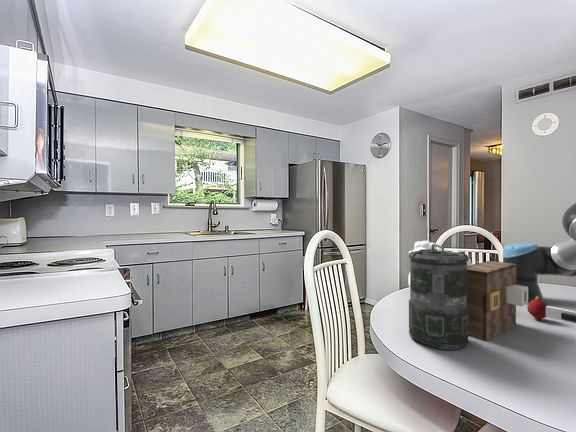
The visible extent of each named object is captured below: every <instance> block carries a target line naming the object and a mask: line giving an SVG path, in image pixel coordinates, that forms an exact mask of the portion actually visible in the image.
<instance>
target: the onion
mask: <svg viewBox="0 0 576 432" xmlns="http://www.w3.org/2000/svg"><path fill="white" fill-rule="evenodd" d="M535 298H536V299H534V300H532V301H530V302H529V303H528V304H527V307H526V308H527V309H526V310H527V312H528V314H530V316H532V317H533V318H534V319H535V320H537V321H541V320H543V319H545V318H547V317H546V306H549V305H548V304H547V303H546V301H544V300H541V299H540V298H539V297H535Z"/></svg>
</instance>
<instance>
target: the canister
mask: <svg viewBox="0 0 576 432" xmlns="http://www.w3.org/2000/svg"><path fill="white" fill-rule="evenodd" d="M434 246H436V247H437V249H434ZM438 248H440V249H441V250H438ZM410 251H411V252H410V253H409V252H408V258H409V259H410V261H409V266H410V267H409V273H410V288H409V291H410V294H409V296H410V297H409V299H408V333H409V336H410V337H411V339H412V340H414V341H417V342H420V343H421V344H424V345H426V346H430V347H433V348H436V349H437V350H443V351H444V350H445V351H453V350H460V348H461V347H465V346H466V345H468V344H469V336H468V335H469V309H468V308H467V263H466V262H467V261H468V259H470V257H469V255H468V254H466V253H465V252H461V251H458V252H459V253H457V252H452V251H448V250H445V247H444V246H443V245H440V244H437V243H435V244H432V249H420V250H419V251H414V252H413V251H412V250H410Z"/></svg>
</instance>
